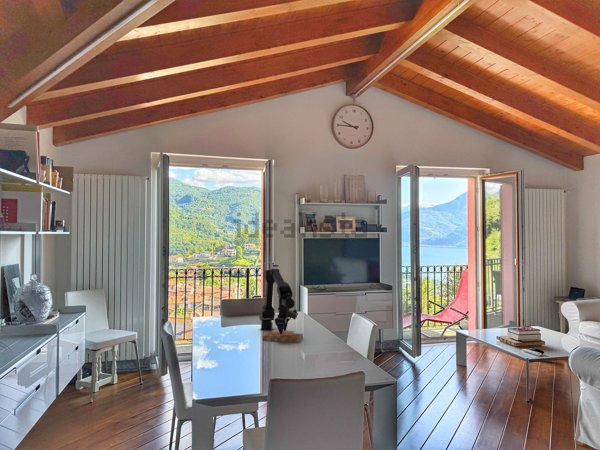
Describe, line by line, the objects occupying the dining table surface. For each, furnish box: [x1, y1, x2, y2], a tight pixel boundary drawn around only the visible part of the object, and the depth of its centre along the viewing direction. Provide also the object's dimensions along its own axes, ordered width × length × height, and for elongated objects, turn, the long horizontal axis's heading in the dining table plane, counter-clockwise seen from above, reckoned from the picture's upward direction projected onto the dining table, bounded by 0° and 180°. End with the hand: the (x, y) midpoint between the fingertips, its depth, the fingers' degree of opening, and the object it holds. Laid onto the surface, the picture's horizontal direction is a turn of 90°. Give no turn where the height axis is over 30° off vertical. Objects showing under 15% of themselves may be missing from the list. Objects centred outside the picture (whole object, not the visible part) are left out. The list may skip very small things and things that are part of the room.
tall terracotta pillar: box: [272, 329, 295, 336], centre depth 239 cm, size 12×3×5 cm, turn 79°
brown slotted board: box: [262, 331, 304, 344], centre depth 239 cm, size 22×10×3 cm, turn 79°
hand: (283, 332), depth 239 cm, fingers open, 9 cm apart
